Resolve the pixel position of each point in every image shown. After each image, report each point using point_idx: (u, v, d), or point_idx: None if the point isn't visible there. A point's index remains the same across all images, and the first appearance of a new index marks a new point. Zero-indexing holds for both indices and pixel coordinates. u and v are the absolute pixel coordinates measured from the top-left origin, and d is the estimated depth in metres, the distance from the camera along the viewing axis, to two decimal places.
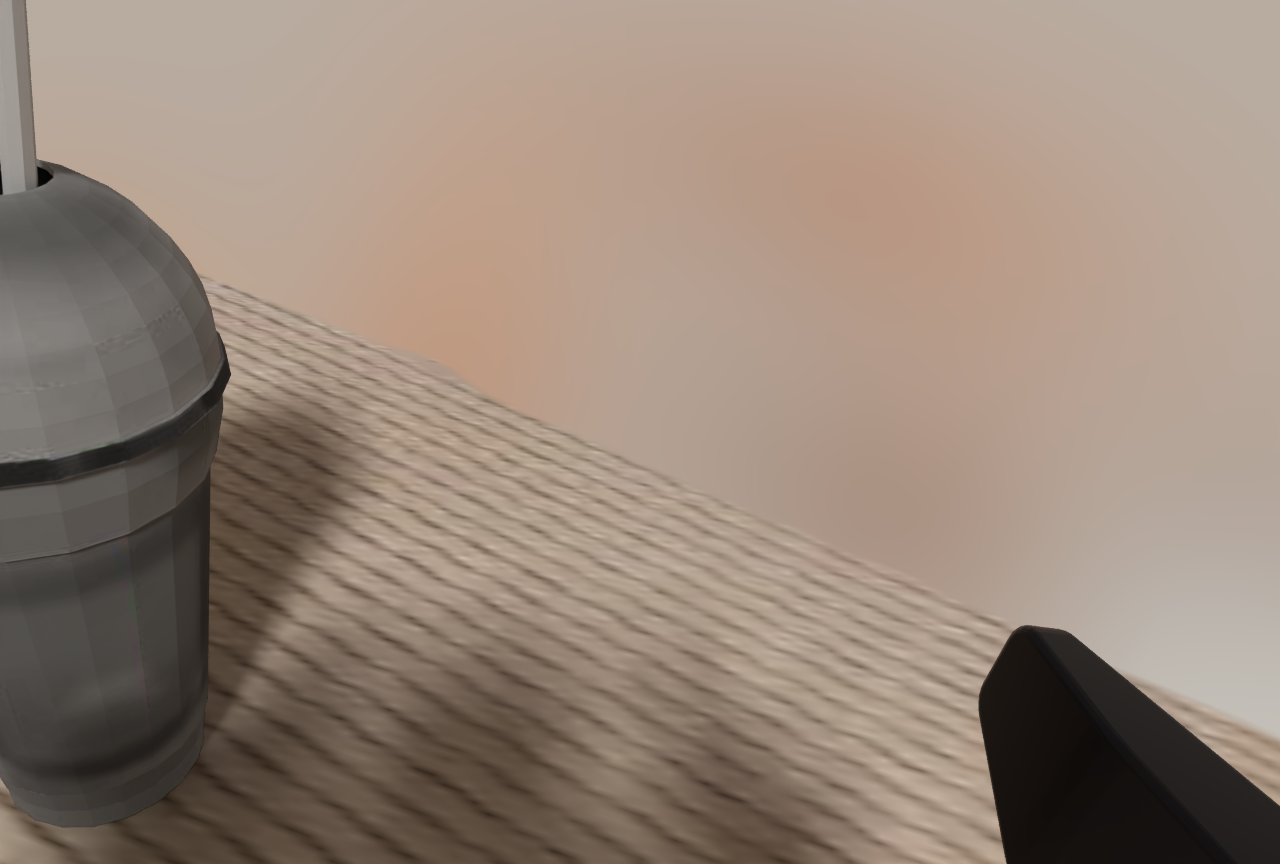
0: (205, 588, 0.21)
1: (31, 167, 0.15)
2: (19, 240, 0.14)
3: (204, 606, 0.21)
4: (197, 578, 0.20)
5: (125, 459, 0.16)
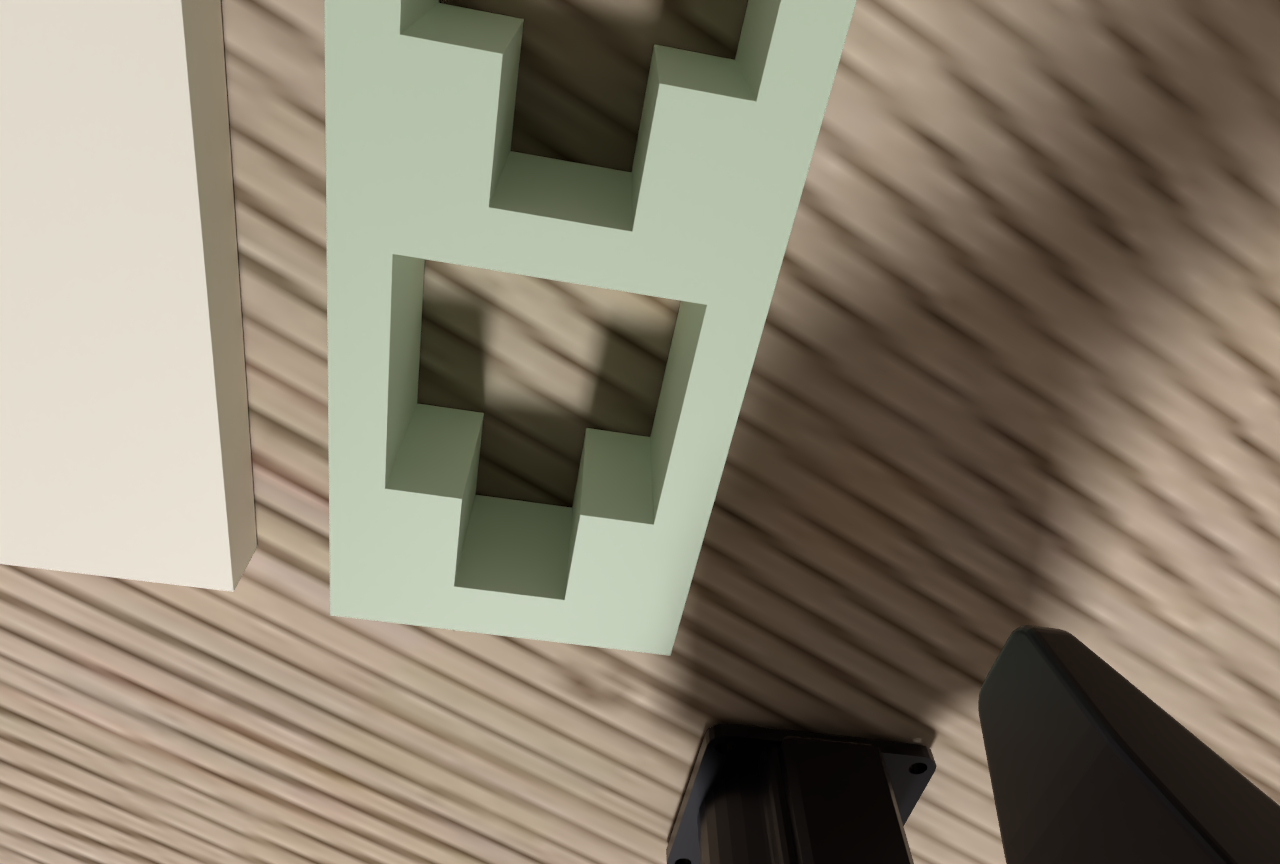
0: None
1: None
2: None
3: None
4: None
5: None
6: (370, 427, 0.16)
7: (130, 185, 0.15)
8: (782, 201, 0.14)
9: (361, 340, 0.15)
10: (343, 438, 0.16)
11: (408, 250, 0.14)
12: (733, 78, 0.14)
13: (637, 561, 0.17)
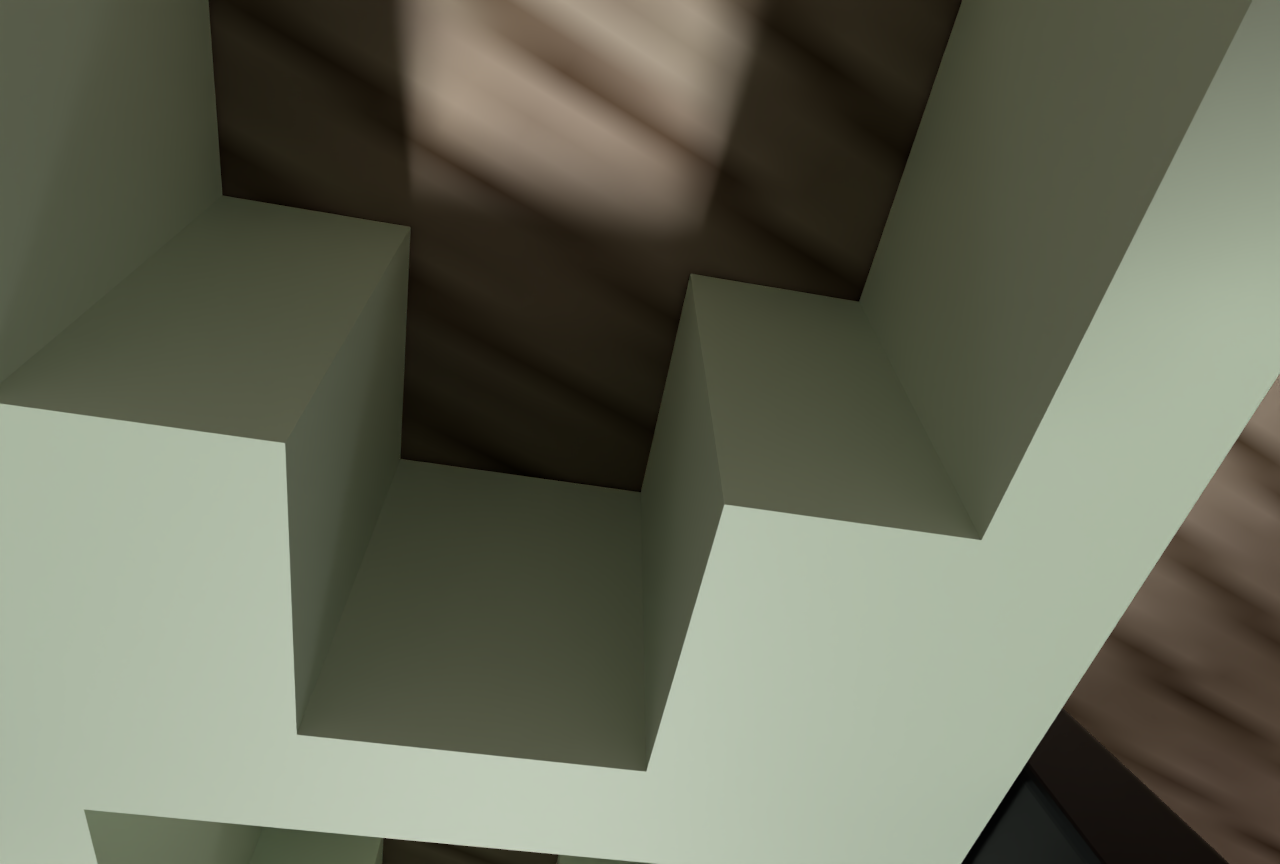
0: None
1: None
2: None
3: None
4: None
5: None
6: None
7: None
8: (1013, 721, 0.06)
9: None
10: None
11: (120, 803, 0.06)
12: (885, 403, 0.06)
13: None
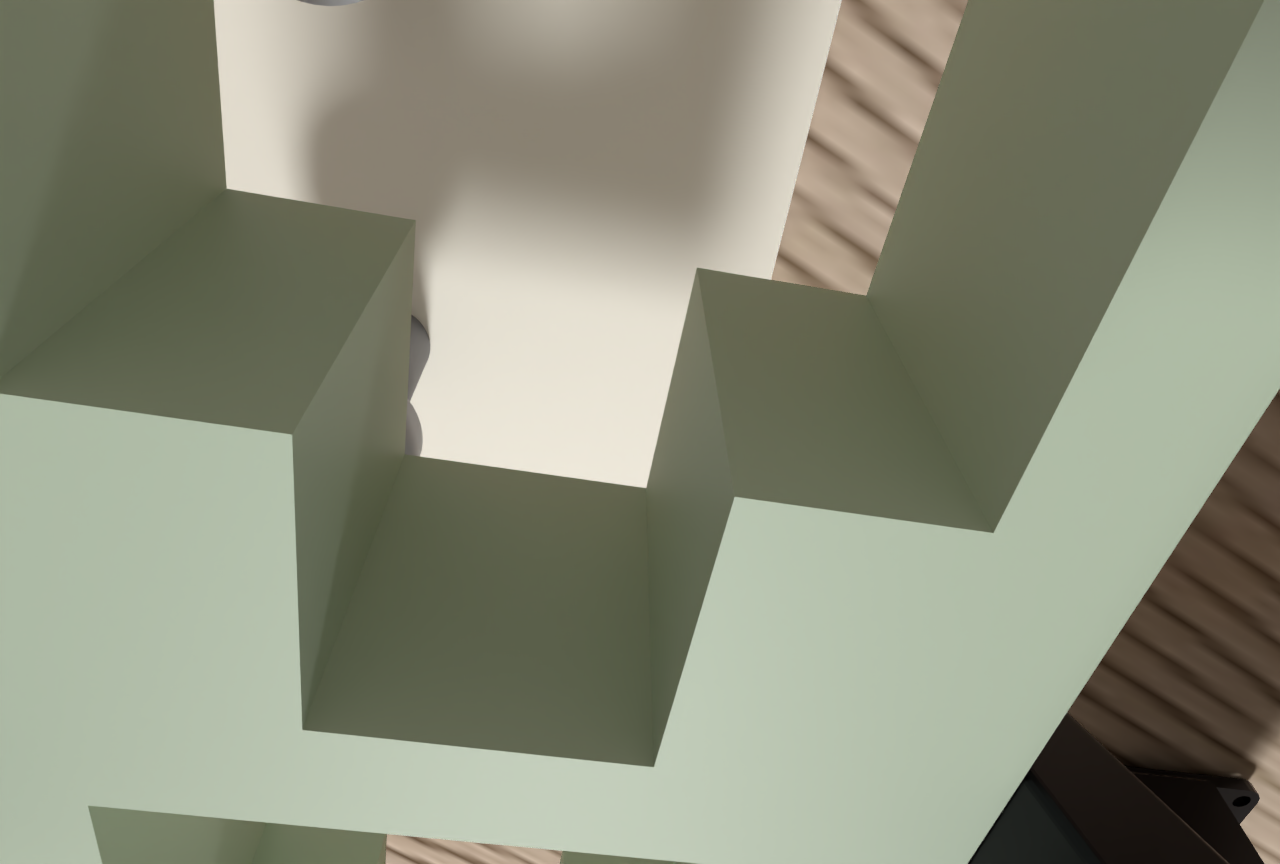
0: None
1: None
2: None
3: None
4: None
5: None
6: None
7: None
8: (1023, 716, 0.06)
9: None
10: None
11: (124, 798, 0.06)
12: (894, 396, 0.06)
13: None
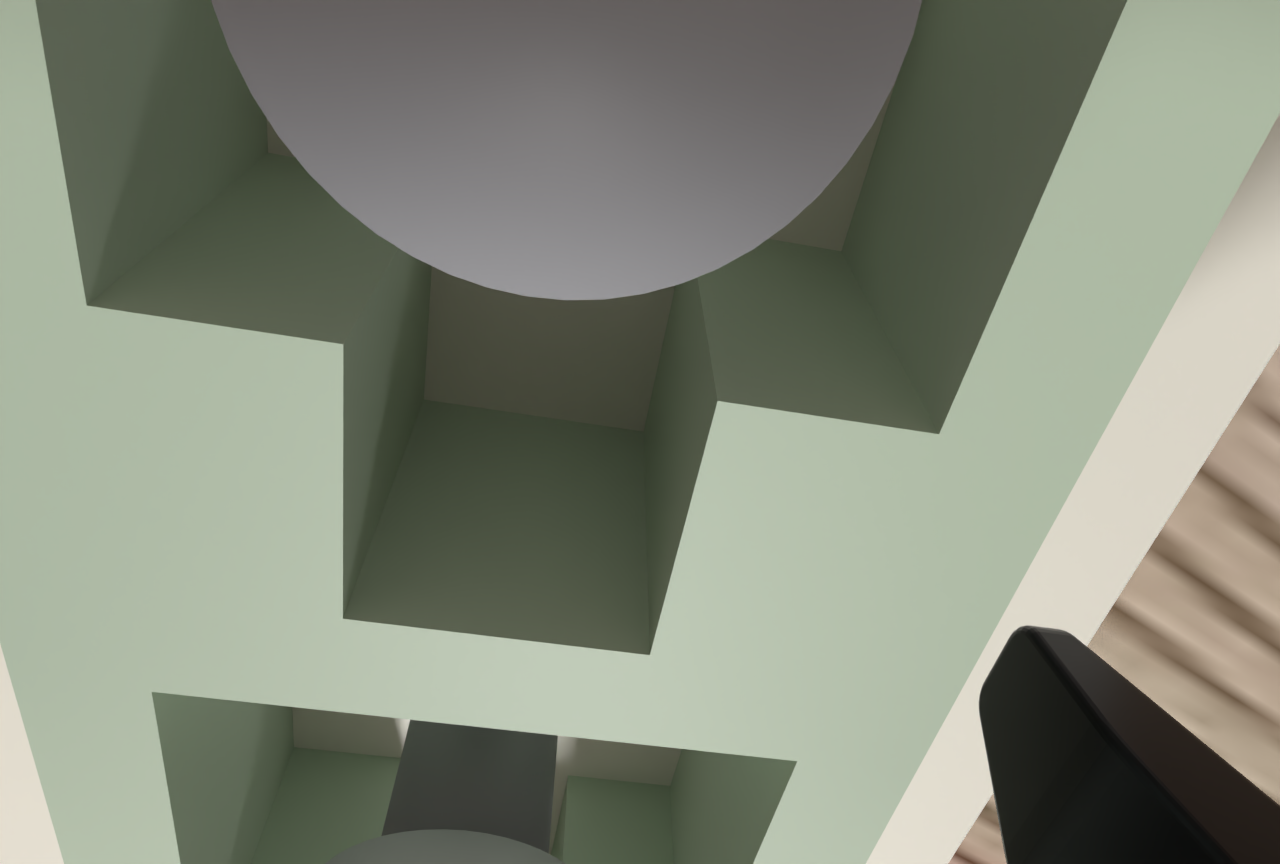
0: None
1: None
2: None
3: None
4: None
5: None
6: None
7: (1021, 601, 0.10)
8: (972, 606, 0.06)
9: (115, 814, 0.07)
10: None
11: (184, 686, 0.07)
12: (861, 331, 0.07)
13: None
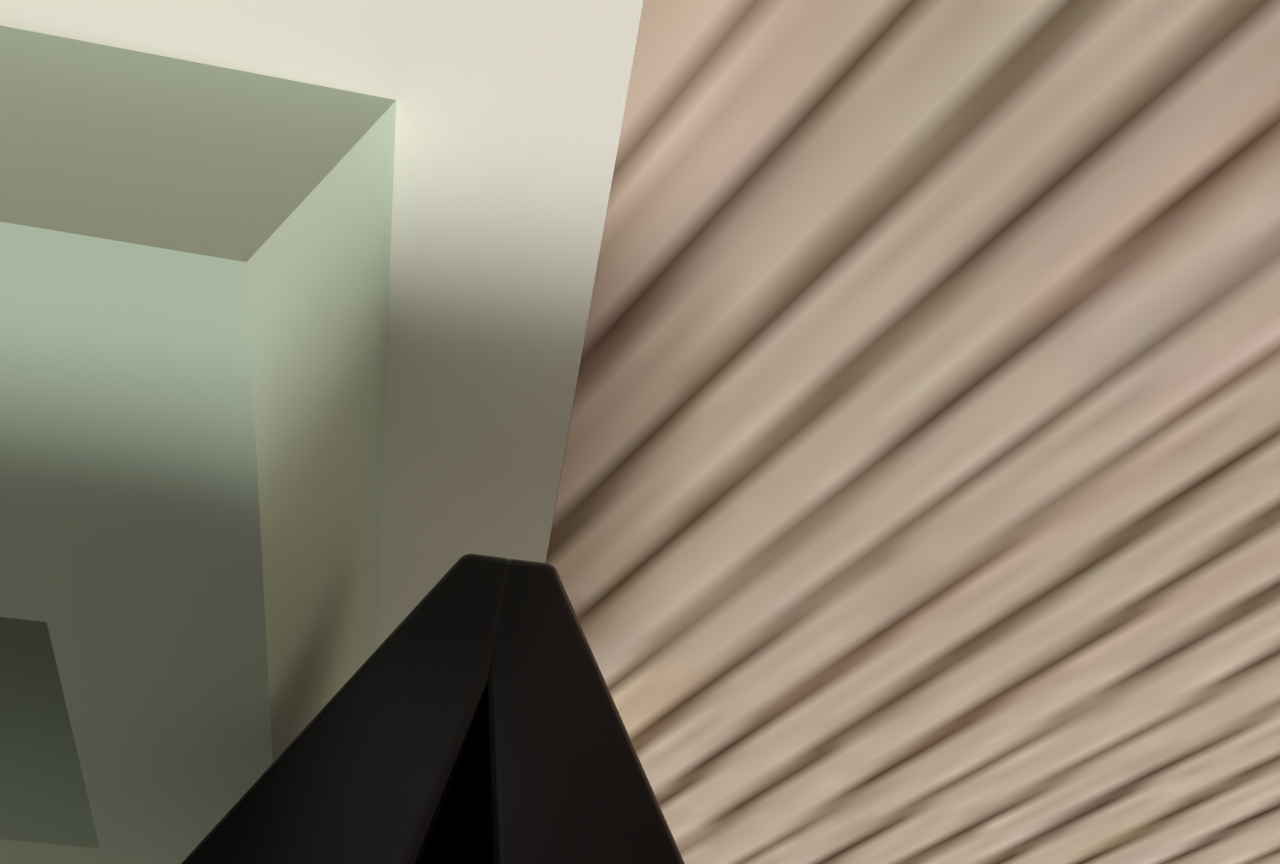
0: None
1: None
2: None
3: None
4: None
5: None
6: None
7: None
8: None
9: None
10: None
11: None
12: None
13: None
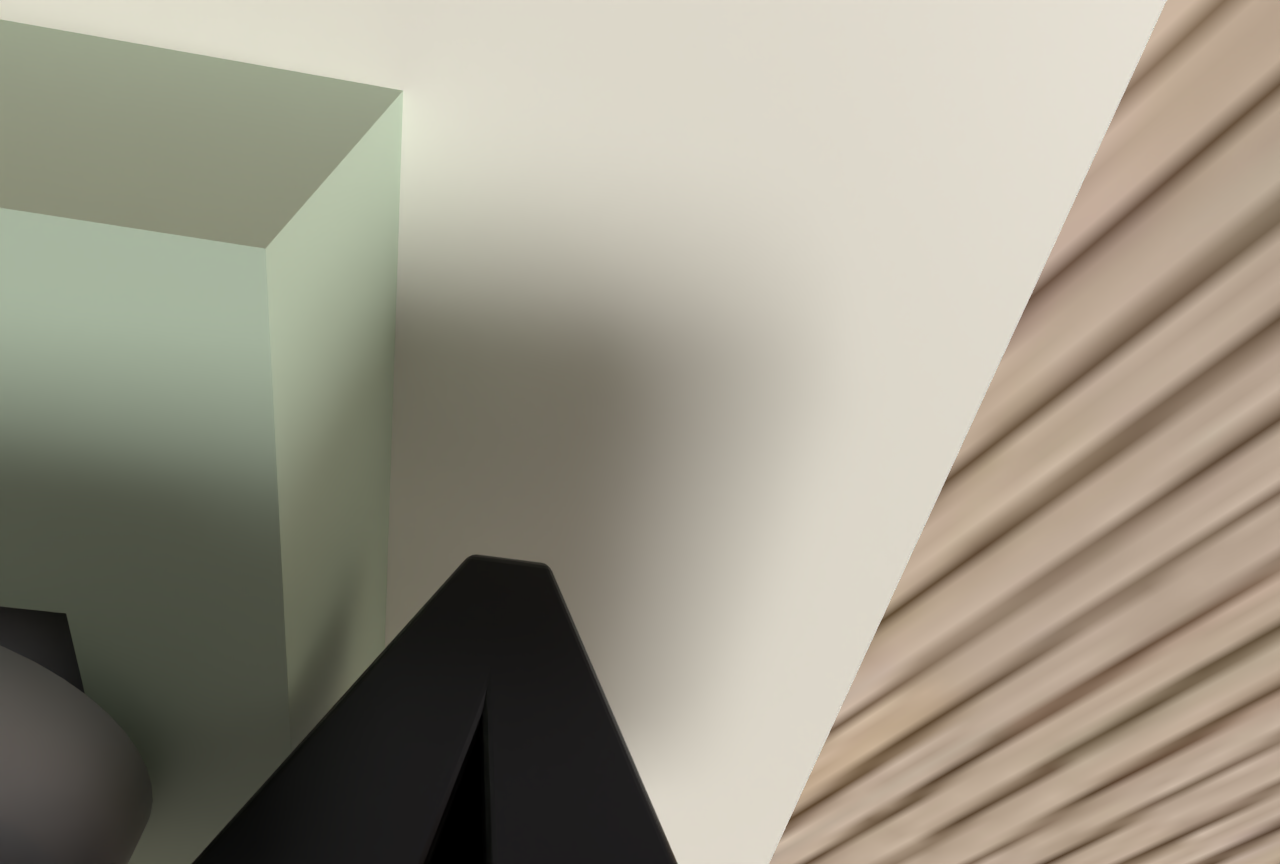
0: None
1: None
2: None
3: None
4: None
5: None
6: None
7: None
8: None
9: None
10: None
11: None
12: None
13: None
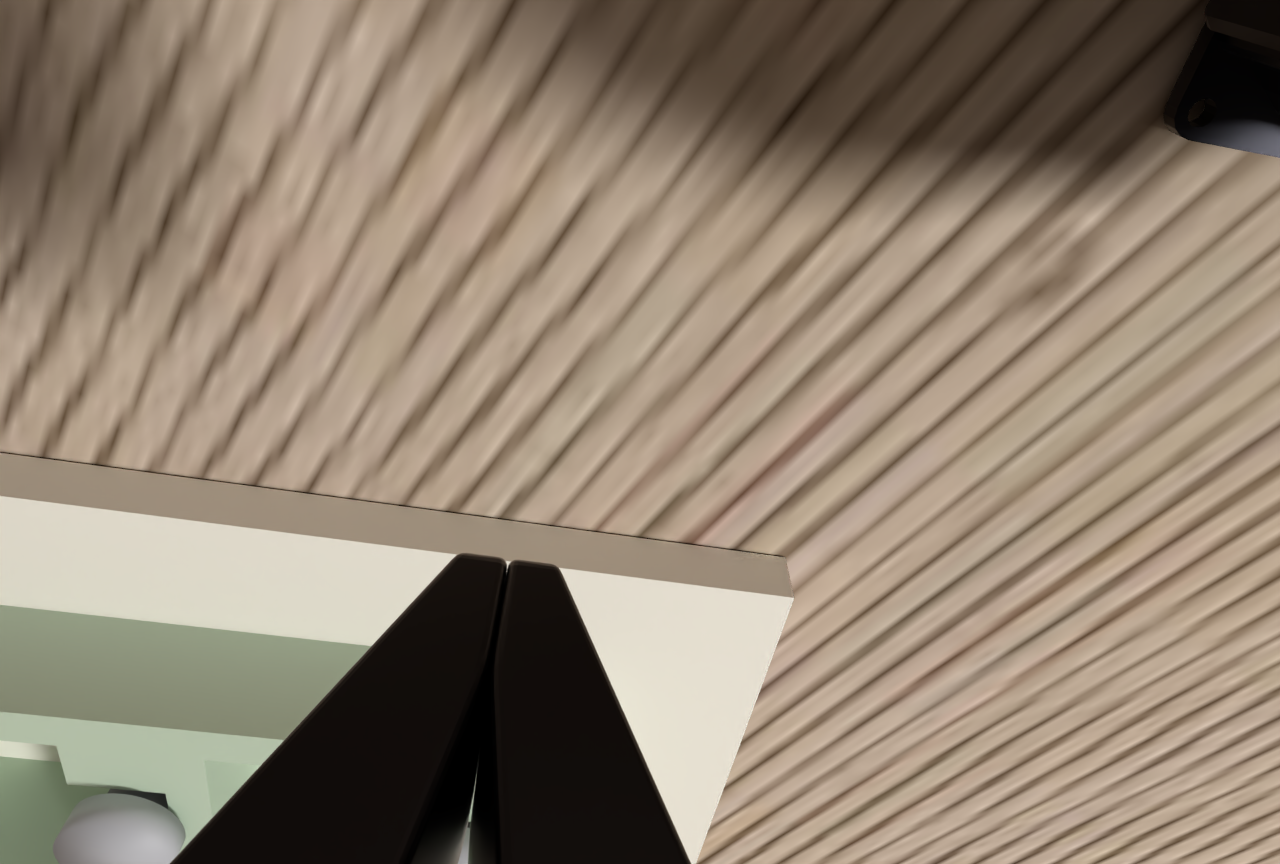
0: None
1: None
2: None
3: None
4: None
5: None
6: None
7: (420, 584, 0.22)
8: (113, 730, 0.20)
9: None
10: None
11: None
12: None
13: None
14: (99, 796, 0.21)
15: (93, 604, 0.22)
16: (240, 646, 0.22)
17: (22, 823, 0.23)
